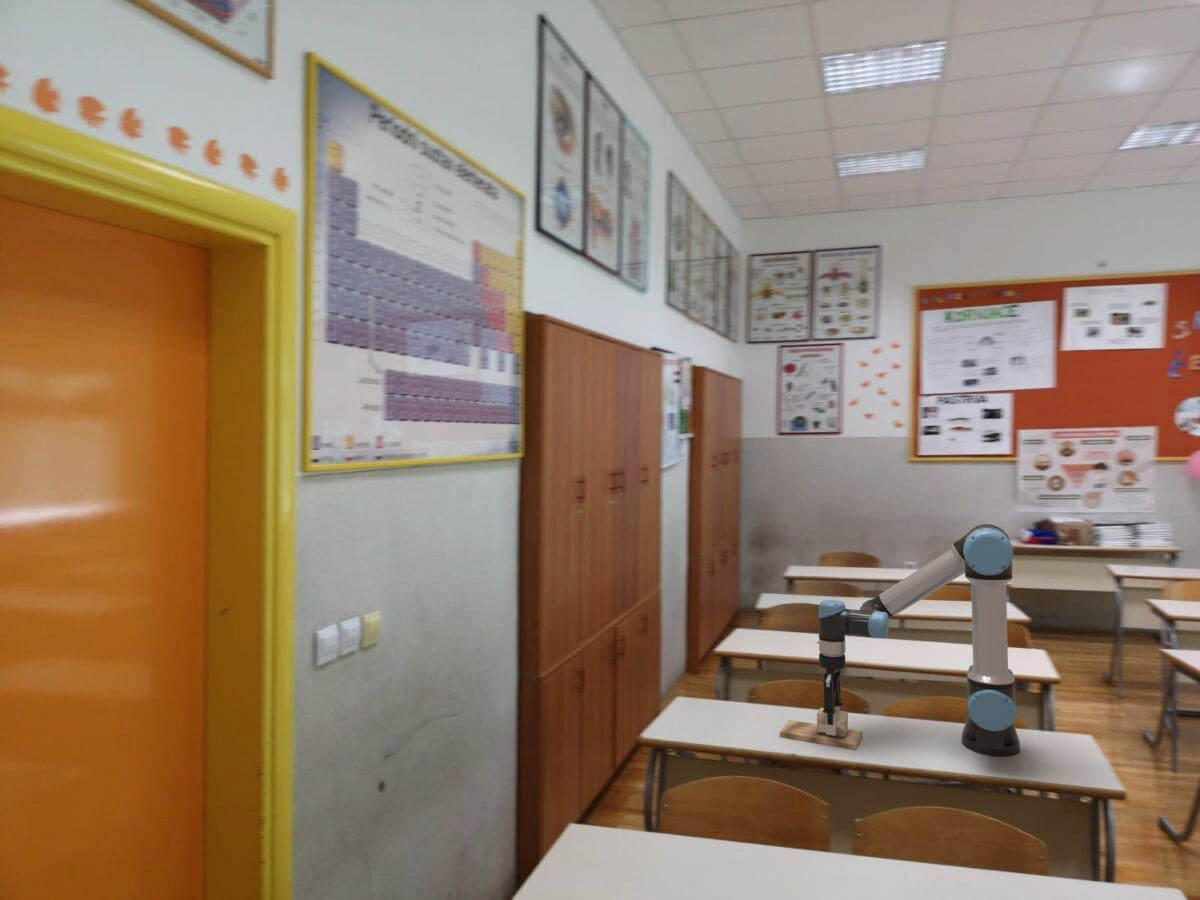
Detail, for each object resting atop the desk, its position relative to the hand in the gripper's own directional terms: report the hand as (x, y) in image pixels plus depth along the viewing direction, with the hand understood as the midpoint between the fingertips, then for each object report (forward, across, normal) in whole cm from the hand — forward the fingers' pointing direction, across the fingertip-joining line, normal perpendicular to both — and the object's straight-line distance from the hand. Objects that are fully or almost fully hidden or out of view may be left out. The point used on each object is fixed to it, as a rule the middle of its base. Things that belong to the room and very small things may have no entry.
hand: (832, 731), depth 236 cm
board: (+2, 0, -4) cm, 4 cm away
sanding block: (0, 0, 0) cm, 0 cm away
